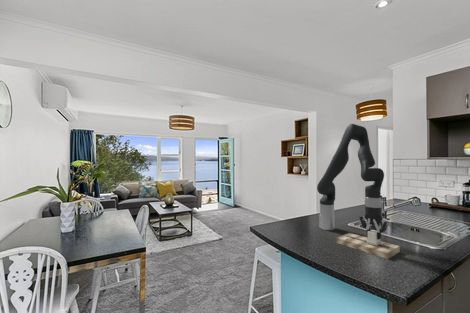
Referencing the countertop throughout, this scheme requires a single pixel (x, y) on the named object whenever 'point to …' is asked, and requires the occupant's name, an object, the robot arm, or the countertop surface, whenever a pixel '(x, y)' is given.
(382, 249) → the wooden grid board
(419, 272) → the countertop surface
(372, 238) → the white cube
